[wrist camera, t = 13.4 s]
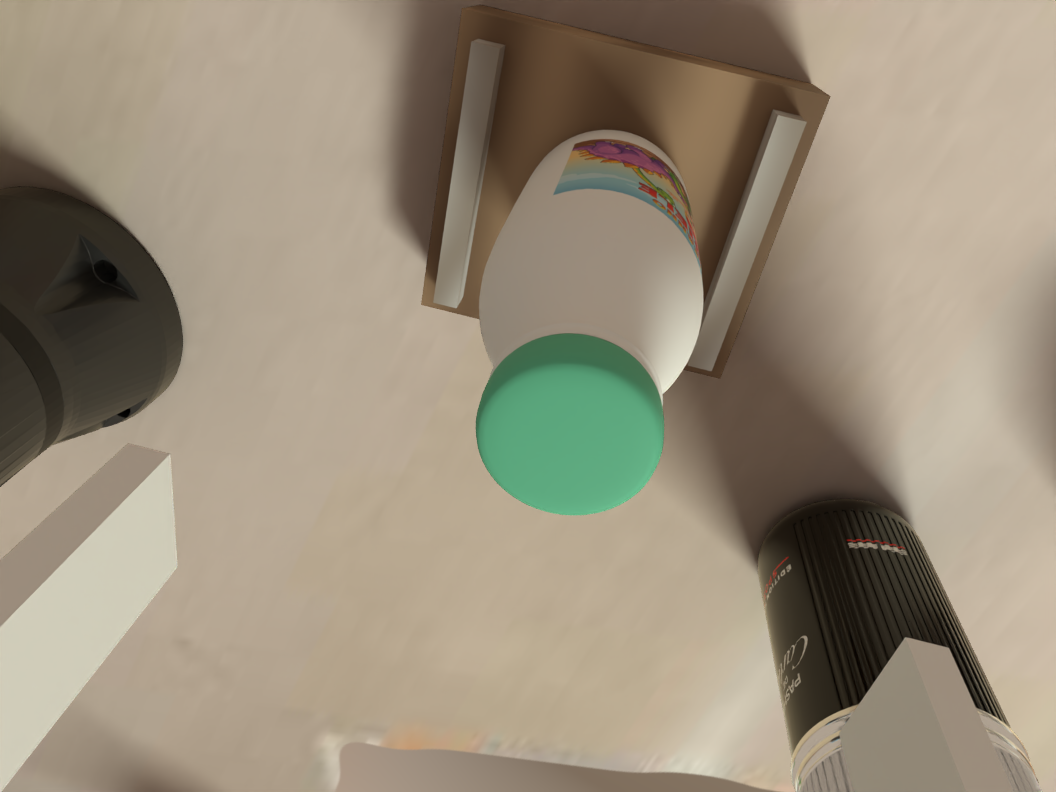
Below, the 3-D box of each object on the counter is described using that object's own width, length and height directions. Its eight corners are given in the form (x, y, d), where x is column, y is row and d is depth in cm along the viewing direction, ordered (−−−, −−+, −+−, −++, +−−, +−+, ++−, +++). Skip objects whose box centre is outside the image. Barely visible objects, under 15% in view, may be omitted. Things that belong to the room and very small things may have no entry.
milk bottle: (585, 317, 37) (535, 608, 20) (491, 193, 35) (343, 405, 18) (720, 231, 34) (796, 489, 17) (627, 89, 32) (608, 223, 15)
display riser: (439, 277, 42) (413, 316, 37) (480, 4, 35) (453, 9, 30) (714, 344, 42) (722, 392, 37) (812, 83, 34) (838, 101, 30)
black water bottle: (945, 500, 44) (1222, 992, 23) (891, 620, 50) (1077, 1112, 28) (772, 476, 45) (883, 929, 24) (737, 597, 51) (803, 1058, 29)
